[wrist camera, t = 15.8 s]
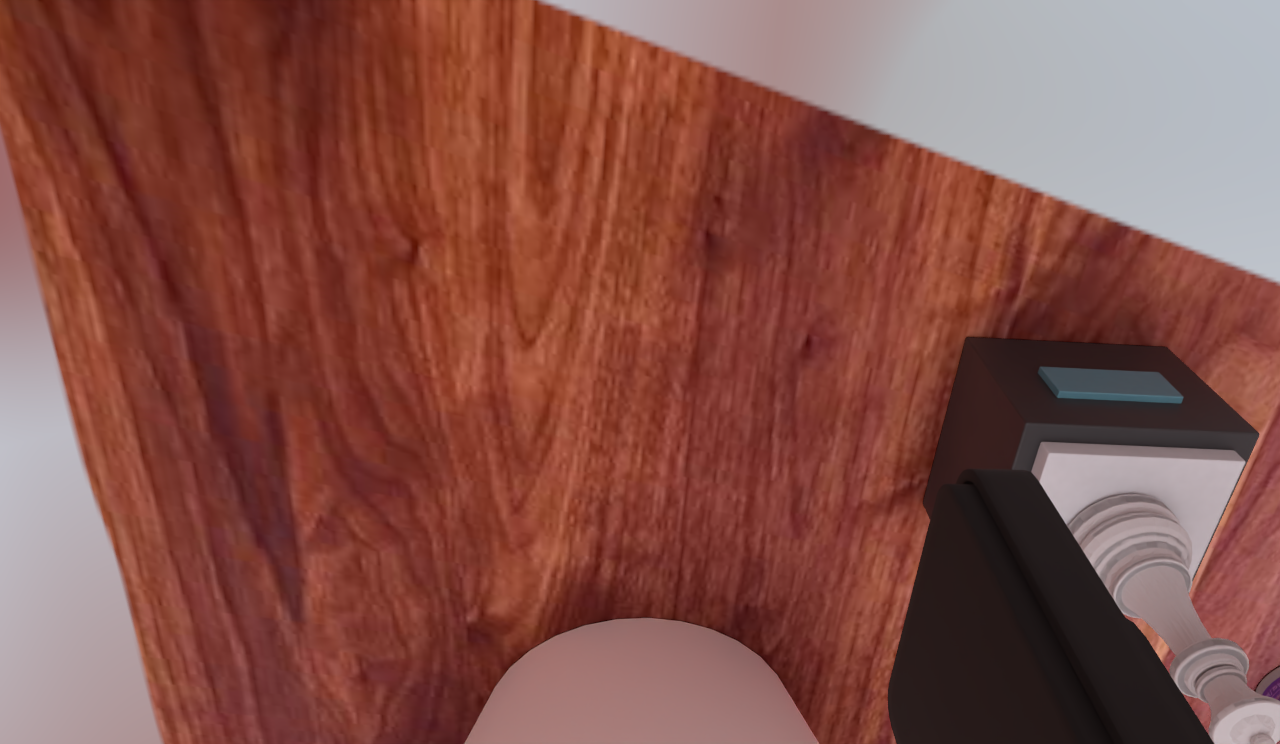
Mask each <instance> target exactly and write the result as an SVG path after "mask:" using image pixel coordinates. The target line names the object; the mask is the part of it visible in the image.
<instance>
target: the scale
mask: <svg viewBox="0 0 1280 744" xmlns="http://www.w3.org/2000/svg"><path fill="white" fill-rule="evenodd" d="M1258 437H1259V433H1258V432H1257V431H1256V430H1255V429H1254V428H1253V427H1252V426H1251V425H1250V424H1249V423H1248V422H1247V421H1245V420H1244V419H1243V418H1242V417H1241V416H1240V415H1239V414H1238V413H1237V412H1236V411H1235V410H1234V409H1233V408H1231V407H1230V406H1229V405H1228V404H1227V403H1226V402H1225V401H1224V400H1223V399H1222V398H1221V397H1220V396H1219V395H1218V394H1216V393H1215V392H1214V391H1213V390H1212V389H1211V388H1210V387H1209V386H1208V385H1207V384H1206V383H1205V382H1204V381H1203V380H1201V379H1200V378H1199V377H1198V376H1197V375H1196V374H1195V373H1194V372H1193V371H1192V370H1191V369H1190V368H1189V367H1188V366H1186V365H1185V364H1184V363H1183V362H1182V361H1181V360H1180V359H1179V358H1178V357H1177V356H1176V355H1175V354H1174V353H1173V352H1171V351H1170V350H1169V349H1168V348H1167V347H1155V346H1135V345H1115V344H1095V343H1075V342H1055V341H1035V340H1015V339H995V338H975V337H967V338H966V340H965V344H964V348H963V352H962V356H961V359H960V363H959V367H958V371H957V375H956V378H955V382H954V386H953V390H952V394H951V398H950V401H949V405H948V409H947V413H946V417H945V420H944V424H943V428H942V432H941V436H940V439H939V443H938V447H937V451H936V455H935V458H934V462H933V466H932V470H931V474H930V477H929V481H928V485H927V489H926V493H925V496H924V500H923V505H924V507H925V509H926V511H927V513H928V516H929V518H930V520H931V516H932V512H933V508H934V504H935V500H936V496H937V493H938V491H939V489H940V487H941V486H942V485H944V484H956V482H957V479H958V477H959V475H960V474H961V473H962V471H964V470H966V469H1008V470H1027V471H1029V472H1032V474H1033V475H1034V476H1035V477H1036V478H1037V479H1038V481H1039V482H1040V484H1041V485H1042V487H1043V489H1044V490H1045V492H1046V493H1047V495H1048V497H1049V498H1050V500H1051V501H1052V503H1053V504H1054V506H1055V508H1056V509H1057V511H1058V512H1059V514H1060V515H1061V517H1062V519H1063V520H1064V522H1065V523H1066V525H1067V527H1068V526H1069V524H1070V523H1071V522H1072V521H1073V520H1074V519H1075V518H1076V517H1077V516H1078V515H1079V514H1080V513H1081V512H1082V511H1084V510H1085V509H1086V508H1088V507H1090V506H1091V505H1093V504H1095V503H1098V502H1100V501H1102V500H1104V499H1106V498H1110V497H1114V496H1118V495H1126V494H1139V495H1145V496H1150V497H1153V498H1155V499H1157V500H1159V501H1161V502H1163V503H1164V504H1165V505H1166V506H1167V507H1168V508H1169V509H1170V510H1171V511H1172V512H1173V513H1174V515H1175V516H1176V517H1177V518H1178V520H1179V523H1180V525H1181V526H1182V527H1183V528H1184V529H1185V531H1186V532H1187V533H1188V535H1189V537H1190V540H1191V542H1192V561H1191V565H1190V568H1189V571H1190V573H1191V575H1192V581H1193V579H1194V577H1195V575H1196V573H1197V571H1198V568H1199V566H1200V564H1201V562H1202V560H1203V557H1204V555H1205V553H1206V551H1207V549H1208V546H1209V544H1210V542H1211V540H1212V538H1213V535H1214V533H1215V531H1216V529H1217V527H1218V525H1219V522H1220V520H1221V518H1222V516H1223V514H1224V511H1225V509H1226V507H1227V505H1228V503H1229V500H1230V498H1231V496H1232V494H1233V492H1234V490H1235V487H1236V485H1237V483H1238V481H1239V479H1240V476H1241V474H1242V472H1243V470H1244V468H1245V465H1246V463H1247V461H1248V459H1249V457H1250V455H1251V452H1252V450H1253V448H1254V446H1255V444H1256V441H1257V439H1258Z"/></svg>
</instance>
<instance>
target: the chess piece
mask: <svg viewBox="0 0 1280 744" xmlns="http://www.w3.org/2000/svg"><path fill="white" fill-rule="evenodd" d="M1068 528H1069V530H1070V531H1071V533H1072V534H1073V536H1074V538H1075V539H1076V541H1077V542H1078V544H1079V545H1080V547H1081V549H1082V550H1083V552H1084V553H1085V555H1086V557H1087V558H1088V560H1089V561H1090V563H1091V564H1092V566H1093V568H1094V569H1095V571H1096V572H1097V574H1098V575H1099V577H1100V579H1101V580H1102V582H1103V583H1104V585H1105V587H1106V588H1107V590H1108V591H1109V593H1110V594H1111V596H1112V598H1113V599H1114V601H1115V602H1116V604H1117V605H1118V607H1119V609H1120V610H1121V612H1122V613H1123V614H1125V615H1127V616H1130V617H1135V618H1142V619H1143V620H1144V621H1145V622H1146V623H1147V624H1149V625H1150V626H1151V627H1152V628H1153V629H1154V630H1155V631H1156V633H1157V634H1158V635H1159V636H1160V637H1161V638H1162V639H1163V640H1164V641H1165V642H1166V644H1167V645H1168V646H1169V648H1170V649H1171V650H1172V651H1173V653H1174V654H1175V655H1176V657H1175V658H1174V660H1173V661H1172V663H1171V666H1170V676H1171V677H1172V679H1173V680H1174V682H1175V683H1176V685H1177V687H1178V688H1179V690H1180V691H1181V692H1182V693H1183V694H1185V695H1187V696H1190V697H1195V698H1199V699H1200V700H1202V701H1203V702H1206V703H1208V704H1209V706H1210V710H1211V722H1210V726H1209V736H1210V738H1211V739H1212V741H1213V742H1214V744H1276V743H1277V742H1278V741H1279V740H1280V701H1279V700H1276V699H1274V698H1271V697H1267V696H1263V695H1260V694H1258V693H1256V692H1255V691H1253V690H1252V689H1250V688H1249V687H1248V686H1247V679H1246V674H1247V671H1248V669H1249V660H1248V658H1247V656H1246V654H1245V652H1244V651H1243V650H1242V648H1241V647H1240V646H1238V645H1237V644H1236V643H1235V642H1233V641H1230V640H1228V639H1222V638H1211V636H1210V635H1209V633H1208V632H1207V630H1206V629H1205V627H1204V625H1203V624H1202V622H1201V620H1200V618H1199V617H1198V615H1197V613H1196V611H1195V609H1194V607H1193V605H1192V602H1191V600H1190V597H1189V592H1190V590H1191V586H1192V575H1191V573H1190V571H1189V568H1190V565H1191V561H1192V542H1191V540H1190V537H1189V535H1188V533H1187V532H1186V531H1185V529H1184V528H1183V527H1182V526H1181V525H1180V523H1179V520H1178V518H1177V517H1176V516H1175V515H1174V513H1173V512H1172V511H1171V510H1170V509H1169V508H1168V507H1167V506H1166V505H1165V504H1164V503H1163V502H1161V501H1159V500H1157V499H1155V498H1153V497H1150V496H1145V495H1139V494H1126V495H1118V496H1114V497H1110V498H1106V499H1104V500H1102V501H1100V502H1098V503H1095V504H1093V505H1091V506H1090V507H1088V508H1086V509H1085V510H1084V511H1082V512H1081V513H1080V514H1079V515H1078V516H1077V517H1076V518H1075V519H1074V520H1073V521H1072V522H1071V523H1070V524H1069V526H1068Z"/></svg>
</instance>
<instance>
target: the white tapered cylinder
mask: <svg viewBox="0 0 1280 744" xmlns="http://www.w3.org/2000/svg"><path fill="white" fill-rule="evenodd" d="M464 744H819V742H818V741H817V739H816V737H815V736H814V734H813V732H812V731H811V729H810V728H809V726H808V724H807V723H806V721H805V719H804V718H803V716H802V715H801V713H800V711H799V710H798V708H797V706H796V705H795V703H794V702H793V700H792V698H791V697H790V695H789V693H788V692H787V690H786V688H785V687H784V685H783V684H782V682H781V680H780V679H779V677H778V675H777V674H776V673H775V672H774V671H773V670H772V669H771V668H770V667H769V665H768V664H767V663H766V662H765V661H764V660H763V659H762V658H761V657H760V656H759V655H757V654H756V653H754V652H753V651H752V650H750V649H749V648H747V647H746V646H744V645H743V644H742V643H740V642H739V641H737V640H735V639H732V638H730V637H728V636H726V635H724V634H721V633H719V632H717V631H715V630H712V629H709V628H706V627H702V626H698V625H694V624H690V623H687V622H683V621H675V620H666V619H656V618H633V619H615V620H610V621H604V622H599V623H594V624H589V625H584V626H581V627H579V628H576V629H573V630H570V631H568V632H565V633H562V634H559V635H556V636H554V637H553V638H551V639H549V640H547V641H545V642H544V643H542V644H540V645H538V646H537V647H535V648H533V649H531V650H530V651H529V652H527V653H526V654H525V655H524V656H523V657H522V658H520V659H519V660H518V661H517V662H516V663H514V664H513V665H512V666H511V667H510V668H509V669H508V670H507V672H506V673H505V674H504V676H503V677H502V678H501V680H500V681H499V682H498V684H497V685H496V686H495V688H494V690H493V692H492V693H491V695H490V697H489V699H488V701H487V703H486V705H485V706H484V708H483V710H482V712H481V714H480V716H479V717H478V719H477V721H476V723H475V725H474V727H473V728H472V730H471V732H470V734H469V736H468V738H467V740H466V741H465V743H464Z"/></svg>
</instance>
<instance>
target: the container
mask: <svg viewBox="0 0 1280 744" xmlns="http://www.w3.org/2000/svg"><path fill="white" fill-rule="evenodd" d="M1255 692H1256V693H1258V694H1260V695H1263V696H1267V697H1271V698H1274V699H1276V700H1279V701H1280V667H1278V668H1277V669H1275V670H1274V671H1272V672H1271V673H1269V674H1268V675H1267V676H1266V677H1265V678H1264V679H1263V680H1262V681H1261V682H1260V684H1259V685H1258V687H1257V689H1256V691H1255Z"/></svg>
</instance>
